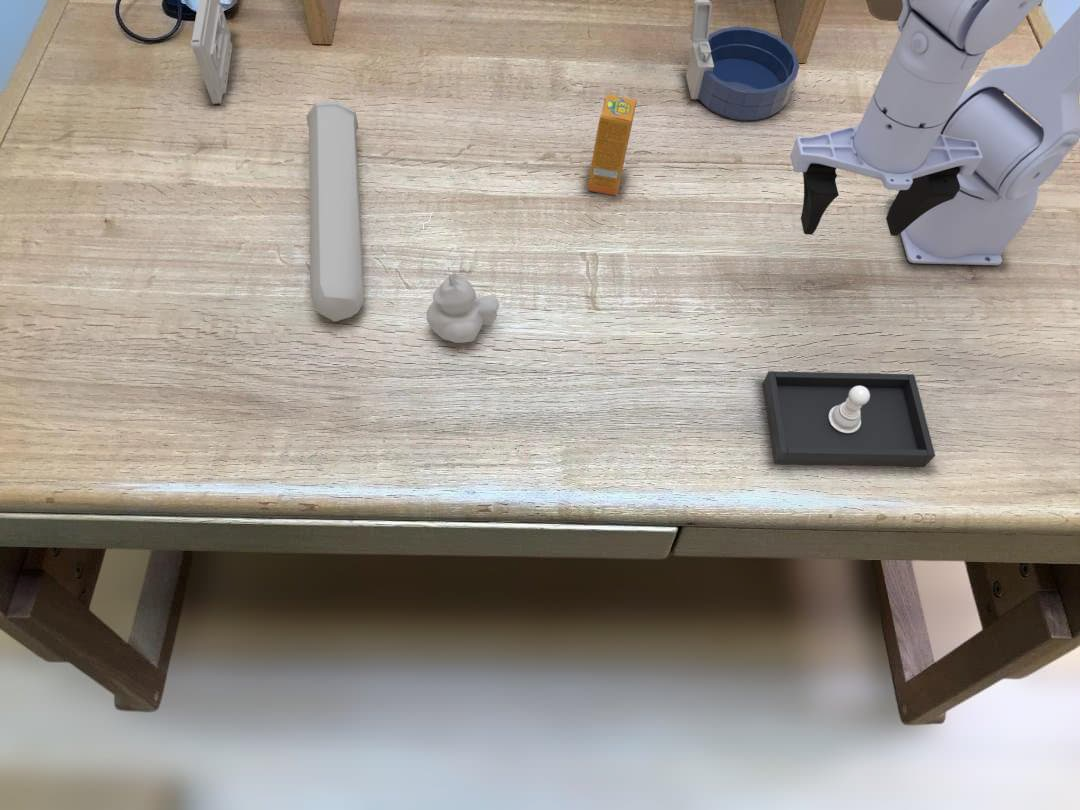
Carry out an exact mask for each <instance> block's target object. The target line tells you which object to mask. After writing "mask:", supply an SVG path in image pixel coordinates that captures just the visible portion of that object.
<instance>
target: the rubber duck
mask: <svg viewBox="0 0 1080 810" xmlns="http://www.w3.org/2000/svg"><path fill="white" fill-rule="evenodd" d="M432 300H433V301H432V302H431V304H430V305H429V306H428V307H427V310H426V321H427V323H428V325H429V327H430V329H431V330H432V331H433V332H434V333H435V334H436V335H437V336H439V337H440V338H442V339H443V340H445V341H450V342H453V343H456V344H461V343H472V342H473V341H475V340H476V338H477V336H478V334H479V332H480V331H481V329H482V327H483V325H489V324H492V323H494V322H495V321H496V320H497V318H498V313H497V311H498V310H499V307H500V302H499V299H498V298H497V297H496V296H493V295H485V296H481V297H477V293H476V290H475V289H474V287H473V285H472V284H471V282H470V281H469V280H468V279H467V278H466V277H464V276H462V275H460V274H457V273H455V272H453V273H452V274H448V277H447V278H446V279H444V281H442V283H440V285H439V286H438V287H437V288H436V289H435V290H434V292H433V294H432Z"/></svg>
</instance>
